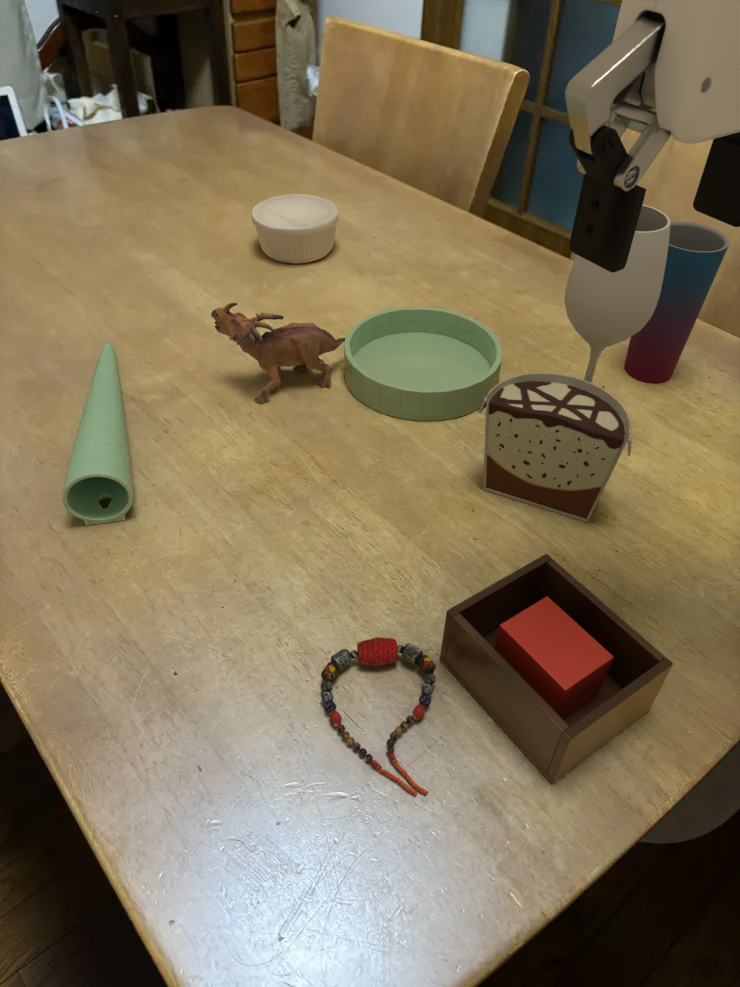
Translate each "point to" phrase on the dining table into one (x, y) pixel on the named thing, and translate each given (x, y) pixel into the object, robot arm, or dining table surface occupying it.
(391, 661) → the necklace
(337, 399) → the dining table surface
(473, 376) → the bowl
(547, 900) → the dining table surface
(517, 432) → the cake cutout
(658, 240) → the wineglass
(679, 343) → the cup
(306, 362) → the dinosaur figurine
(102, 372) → the mint green cone
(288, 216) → the ramekin
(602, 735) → the box
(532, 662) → the block
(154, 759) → the dining table surface
